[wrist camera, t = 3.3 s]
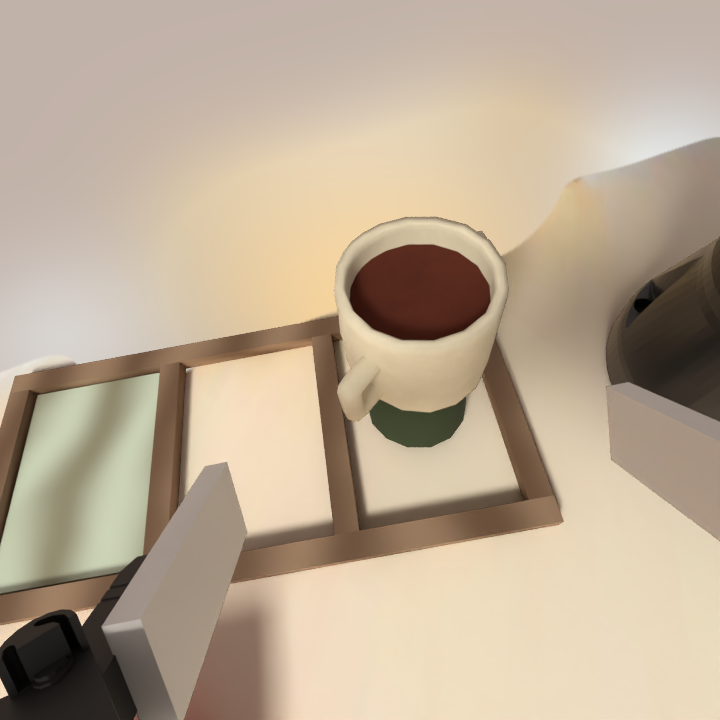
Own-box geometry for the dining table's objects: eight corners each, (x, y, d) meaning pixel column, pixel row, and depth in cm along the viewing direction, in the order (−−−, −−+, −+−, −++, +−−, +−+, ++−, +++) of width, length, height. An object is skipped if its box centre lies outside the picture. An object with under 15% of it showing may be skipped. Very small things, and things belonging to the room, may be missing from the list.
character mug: (419, 324, 32) (423, 169, 21) (506, 374, 29) (565, 228, 18) (321, 438, 28) (263, 325, 17) (411, 507, 26) (412, 427, 15)
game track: (475, 298, 33) (477, 290, 32) (558, 524, 24) (563, 521, 24) (25, 382, 33) (15, 376, 32) (-42, 632, 25) (-59, 633, 24)
